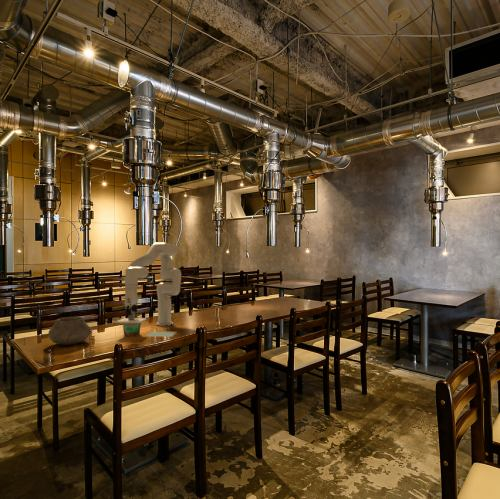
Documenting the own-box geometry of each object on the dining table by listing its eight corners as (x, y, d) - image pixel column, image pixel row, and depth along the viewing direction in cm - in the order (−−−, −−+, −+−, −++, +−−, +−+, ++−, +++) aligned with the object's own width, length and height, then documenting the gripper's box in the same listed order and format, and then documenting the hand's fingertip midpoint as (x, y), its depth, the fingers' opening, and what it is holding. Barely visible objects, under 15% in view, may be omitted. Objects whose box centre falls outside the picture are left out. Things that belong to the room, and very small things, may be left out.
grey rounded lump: (80, 337, 210) (81, 313, 210) (96, 343, 196) (97, 317, 196) (42, 344, 193) (42, 319, 193) (57, 351, 179) (57, 323, 180)
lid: (123, 319, 216) (123, 310, 216) (145, 319, 215) (145, 310, 215) (116, 322, 206) (116, 313, 206) (140, 323, 205) (140, 313, 205)
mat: (152, 332, 222) (152, 331, 222) (177, 332, 221) (177, 331, 221) (145, 337, 209) (145, 336, 209) (171, 337, 208) (171, 336, 208)
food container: (120, 338, 206) (120, 322, 206) (121, 336, 212) (121, 320, 212) (141, 337, 209) (141, 321, 209) (141, 335, 215) (141, 319, 215)
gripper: (131, 285, 220) (131, 311, 219) (120, 288, 202) (119, 316, 202) (142, 285, 219) (142, 311, 219) (132, 288, 202) (132, 316, 202)
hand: (131, 313), depth 211 cm, fingers open, 9 cm apart
